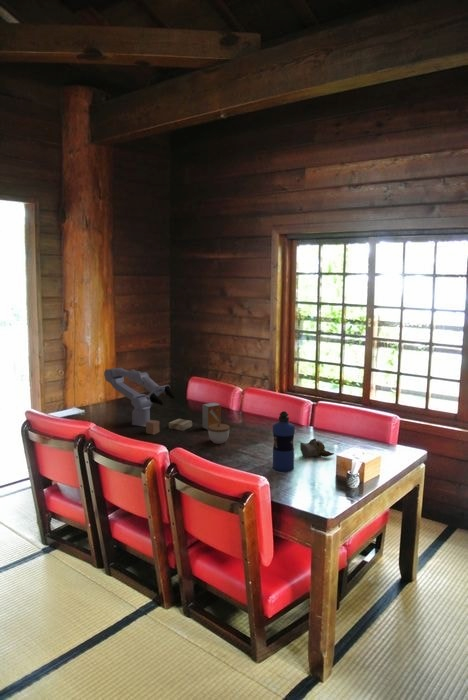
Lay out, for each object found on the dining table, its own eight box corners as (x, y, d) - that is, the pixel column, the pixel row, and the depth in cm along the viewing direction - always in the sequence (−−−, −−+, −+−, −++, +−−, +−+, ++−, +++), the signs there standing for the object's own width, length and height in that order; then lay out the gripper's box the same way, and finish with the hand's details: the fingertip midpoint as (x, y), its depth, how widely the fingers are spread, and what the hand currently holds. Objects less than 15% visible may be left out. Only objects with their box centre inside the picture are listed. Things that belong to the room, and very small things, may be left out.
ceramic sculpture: (296, 435, 245) (325, 434, 250) (294, 453, 246) (323, 452, 251) (305, 443, 235) (335, 441, 240) (304, 461, 236) (334, 460, 241)
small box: (208, 430, 283) (208, 406, 281) (202, 427, 288) (202, 404, 286) (221, 427, 287) (221, 404, 285) (215, 425, 292) (214, 402, 290)
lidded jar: (224, 446, 257) (224, 427, 256) (204, 443, 261) (204, 425, 260) (232, 439, 267) (232, 421, 266) (213, 437, 271) (212, 419, 270)
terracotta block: (146, 433, 278) (145, 422, 277) (152, 430, 282) (151, 419, 282) (153, 434, 276) (153, 423, 275) (159, 432, 280) (159, 421, 279)
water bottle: (292, 464, 234) (293, 409, 230) (295, 472, 224) (296, 414, 221) (271, 464, 233) (271, 409, 230) (273, 472, 224) (274, 415, 220)
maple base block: (168, 428, 287) (168, 422, 286) (178, 424, 294) (178, 418, 294) (182, 431, 282) (182, 425, 282) (192, 427, 290) (192, 421, 289)
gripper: (140, 387, 279) (156, 401, 271) (162, 375, 287) (178, 389, 280) (141, 396, 283) (156, 410, 276) (162, 385, 291) (178, 398, 284)
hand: (167, 400), depth 278 cm, fingers open, 7 cm apart
